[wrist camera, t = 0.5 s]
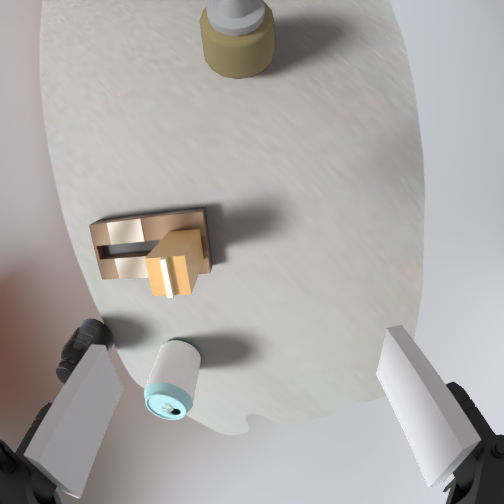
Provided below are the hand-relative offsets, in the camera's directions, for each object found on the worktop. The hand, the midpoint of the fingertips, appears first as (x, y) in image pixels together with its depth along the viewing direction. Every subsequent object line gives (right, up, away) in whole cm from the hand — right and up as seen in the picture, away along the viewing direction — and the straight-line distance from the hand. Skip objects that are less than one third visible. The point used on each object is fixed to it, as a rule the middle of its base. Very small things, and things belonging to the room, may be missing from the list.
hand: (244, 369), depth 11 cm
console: (-13, +6, +26) cm, 30 cm away
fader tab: (-8, +6, +25) cm, 27 cm away
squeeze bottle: (-1, +29, +18) cm, 34 cm away
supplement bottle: (-26, -9, +32) cm, 43 cm away
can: (-11, -12, +33) cm, 37 cm away
